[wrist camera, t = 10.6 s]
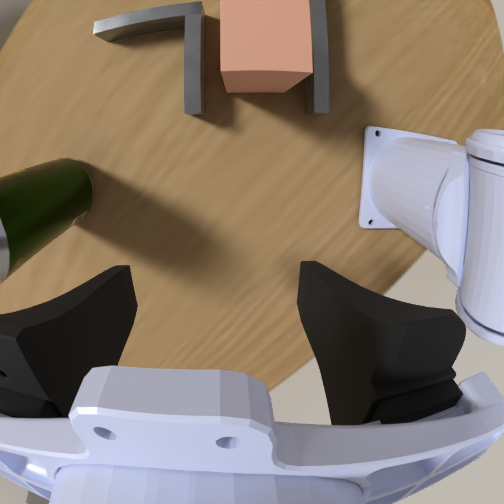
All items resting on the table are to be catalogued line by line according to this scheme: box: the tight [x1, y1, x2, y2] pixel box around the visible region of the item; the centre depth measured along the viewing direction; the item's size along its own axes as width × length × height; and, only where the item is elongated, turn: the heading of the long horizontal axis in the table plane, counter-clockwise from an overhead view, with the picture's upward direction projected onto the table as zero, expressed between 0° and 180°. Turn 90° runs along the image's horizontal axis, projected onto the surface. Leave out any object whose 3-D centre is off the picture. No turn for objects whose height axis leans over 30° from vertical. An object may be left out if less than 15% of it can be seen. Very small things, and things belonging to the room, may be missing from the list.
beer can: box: [0, 158, 94, 284], centre depth 14 cm, size 5×5×12 cm
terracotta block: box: [220, 0, 313, 93], centre depth 14 cm, size 4×4×8 cm
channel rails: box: [93, 0, 330, 115], centre depth 14 cm, size 16×16×2 cm
